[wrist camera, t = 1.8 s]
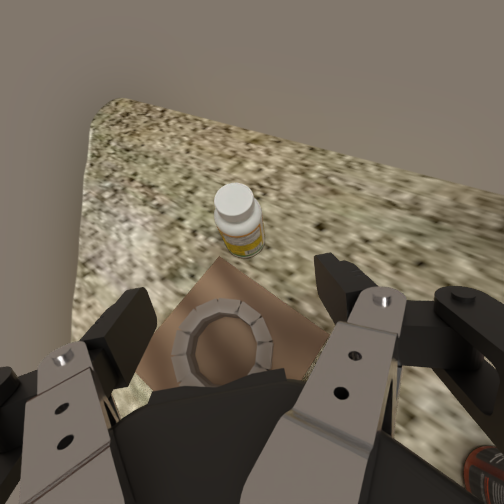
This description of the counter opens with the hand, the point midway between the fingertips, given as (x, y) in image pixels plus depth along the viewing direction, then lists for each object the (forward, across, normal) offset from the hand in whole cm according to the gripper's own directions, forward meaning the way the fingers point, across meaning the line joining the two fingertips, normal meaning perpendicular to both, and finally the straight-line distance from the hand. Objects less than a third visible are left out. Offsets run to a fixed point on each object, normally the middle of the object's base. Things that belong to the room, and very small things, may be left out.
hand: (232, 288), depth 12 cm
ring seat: (+12, +4, +14) cm, 19 cm away
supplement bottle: (+22, 0, +5) cm, 23 cm away
